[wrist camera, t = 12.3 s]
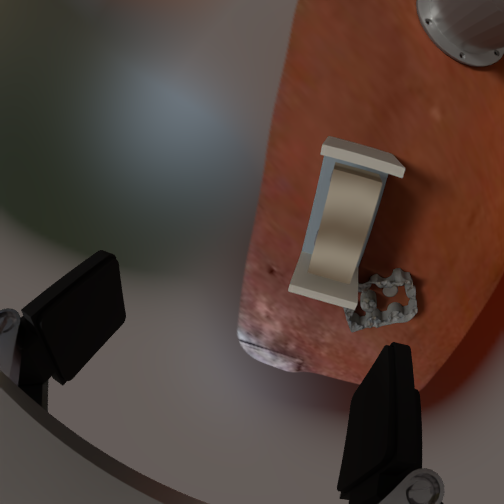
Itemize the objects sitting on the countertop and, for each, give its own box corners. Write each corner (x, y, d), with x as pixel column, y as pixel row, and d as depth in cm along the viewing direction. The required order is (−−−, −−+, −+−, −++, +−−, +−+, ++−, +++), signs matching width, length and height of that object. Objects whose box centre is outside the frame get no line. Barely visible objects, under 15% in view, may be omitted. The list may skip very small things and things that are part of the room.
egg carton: (410, 262, 37) (415, 278, 34) (416, 305, 40) (419, 322, 36) (338, 278, 42) (336, 294, 38) (349, 318, 44) (348, 336, 41)
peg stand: (328, 135, 33) (322, 144, 26) (392, 154, 32) (405, 168, 24) (301, 254, 42) (287, 291, 34) (356, 270, 40) (354, 310, 33)
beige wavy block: (335, 161, 31) (333, 168, 28) (378, 174, 30) (382, 182, 27) (311, 256, 37) (307, 272, 34) (350, 266, 36) (349, 284, 33)
